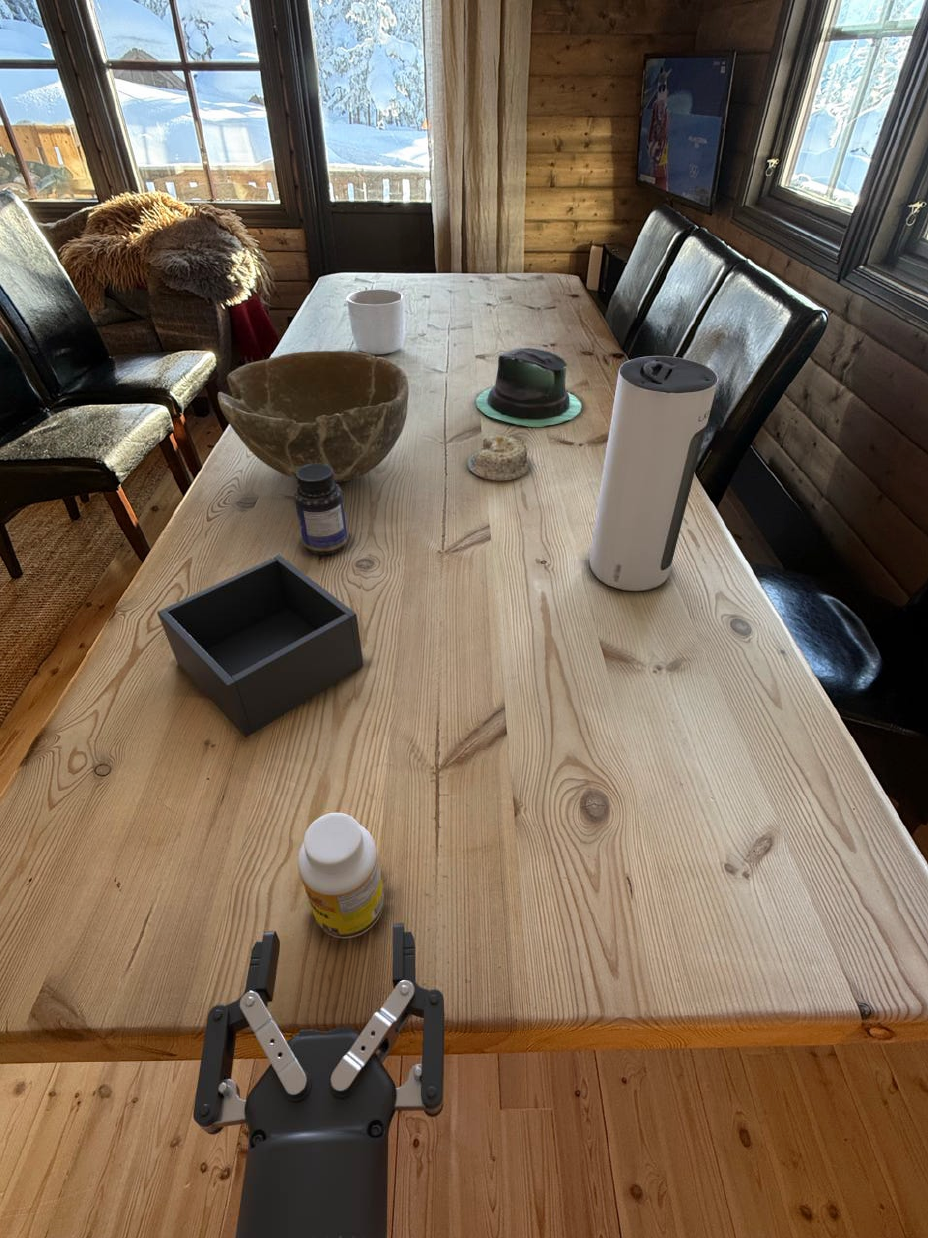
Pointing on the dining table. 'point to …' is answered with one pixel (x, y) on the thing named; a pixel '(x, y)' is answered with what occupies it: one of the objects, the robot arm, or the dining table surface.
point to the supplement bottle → (341, 875)
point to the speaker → (649, 468)
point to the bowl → (318, 410)
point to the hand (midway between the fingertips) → (335, 932)
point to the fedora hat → (529, 390)
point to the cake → (500, 459)
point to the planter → (377, 320)
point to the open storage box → (263, 642)
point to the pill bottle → (320, 510)
